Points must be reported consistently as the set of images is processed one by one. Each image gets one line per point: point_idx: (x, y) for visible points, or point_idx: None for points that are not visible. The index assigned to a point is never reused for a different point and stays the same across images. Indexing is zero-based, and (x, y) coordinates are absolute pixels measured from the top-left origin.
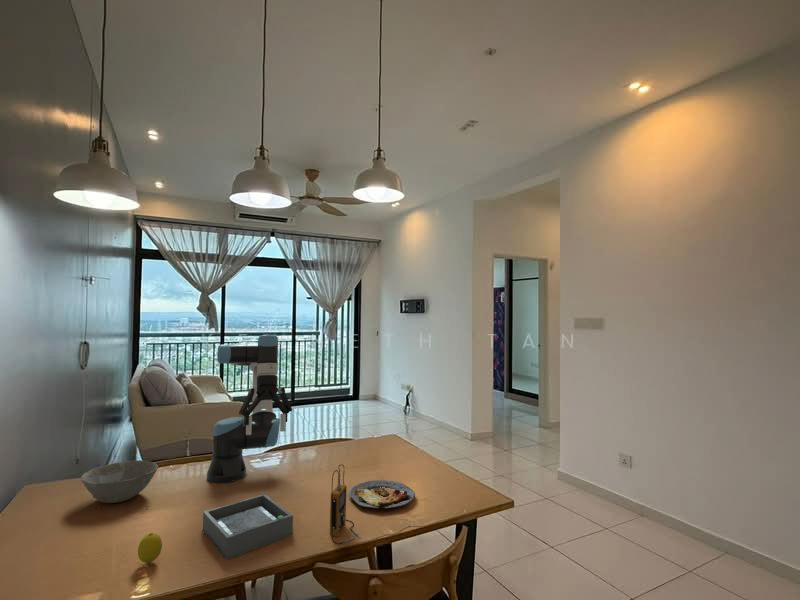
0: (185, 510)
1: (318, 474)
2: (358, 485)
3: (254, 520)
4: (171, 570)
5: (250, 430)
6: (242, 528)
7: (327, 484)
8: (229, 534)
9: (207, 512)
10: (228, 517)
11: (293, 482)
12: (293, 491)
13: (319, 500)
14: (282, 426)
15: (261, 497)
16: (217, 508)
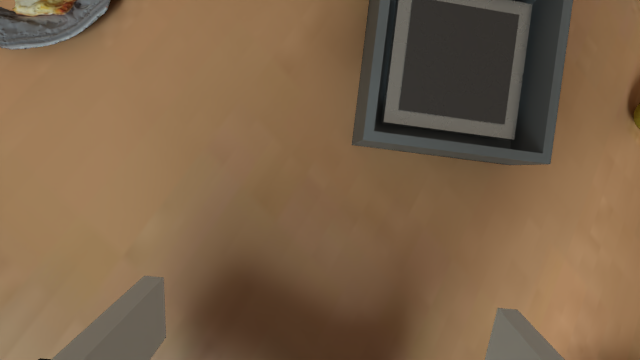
0: (488, 308)
1: (51, 259)
2: (21, 41)
3: (447, 48)
4: (617, 57)
5: (533, 336)
6: (491, 33)
7: (88, 161)
8: (524, 35)
9: (544, 150)
10: (485, 120)
11: (165, 262)
12: (209, 199)
13: (191, 81)
14: (135, 331)
15: (378, 132)
16: (514, 153)
